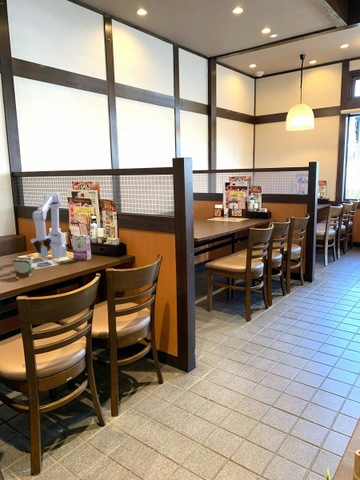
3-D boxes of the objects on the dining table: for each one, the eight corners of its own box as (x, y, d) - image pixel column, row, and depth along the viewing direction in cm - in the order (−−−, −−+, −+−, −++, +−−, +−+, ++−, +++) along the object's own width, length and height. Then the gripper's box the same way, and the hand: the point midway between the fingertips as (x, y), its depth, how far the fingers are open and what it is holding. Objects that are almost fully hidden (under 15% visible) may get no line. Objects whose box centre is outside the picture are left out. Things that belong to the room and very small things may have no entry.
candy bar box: (91, 259, 235) (90, 235, 232) (87, 260, 231) (85, 236, 227) (78, 258, 239) (76, 234, 236) (73, 259, 235) (71, 235, 232)
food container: (39, 274, 201) (37, 257, 199) (31, 277, 196) (29, 260, 194) (21, 273, 205) (20, 256, 203) (13, 276, 200) (11, 259, 198)
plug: (45, 255, 221) (44, 245, 220) (48, 256, 218) (46, 246, 217) (39, 256, 219) (38, 246, 218) (41, 257, 216) (40, 247, 215)
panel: (45, 259, 239) (45, 256, 238) (59, 265, 221) (59, 262, 220) (22, 263, 229) (22, 260, 229) (35, 270, 211) (34, 267, 211)
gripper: (46, 228, 224) (48, 249, 226) (26, 231, 211) (28, 253, 214) (53, 228, 220) (55, 250, 223) (34, 232, 208) (36, 255, 210)
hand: (43, 252), depth 218 cm, fingers closed on plug, 5 cm apart
